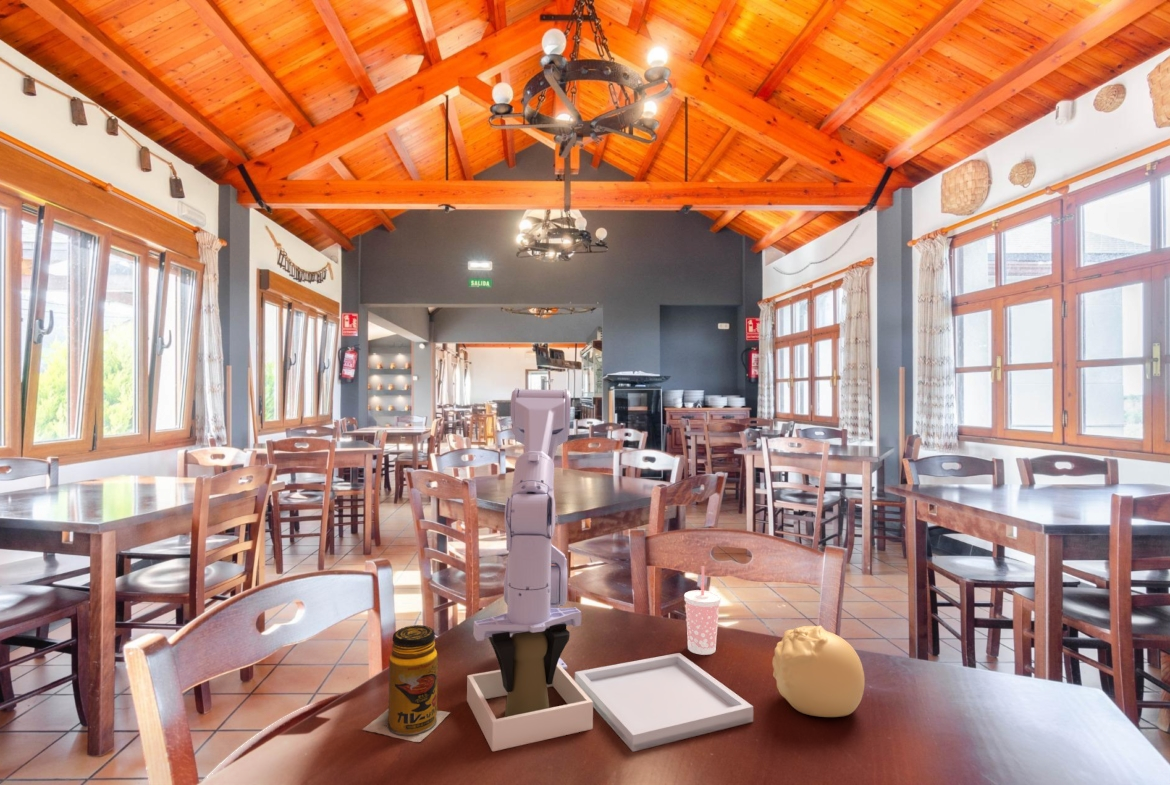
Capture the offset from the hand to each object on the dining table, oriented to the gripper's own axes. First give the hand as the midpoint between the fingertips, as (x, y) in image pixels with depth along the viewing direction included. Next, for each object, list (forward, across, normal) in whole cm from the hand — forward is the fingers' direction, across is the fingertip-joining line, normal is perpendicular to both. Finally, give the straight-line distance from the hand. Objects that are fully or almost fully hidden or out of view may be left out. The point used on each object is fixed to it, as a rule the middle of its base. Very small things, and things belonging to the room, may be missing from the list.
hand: (527, 684), depth 83 cm
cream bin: (+4, 0, 0) cm, 4 cm away
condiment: (+4, -15, +4) cm, 16 cm away
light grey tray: (+4, +18, -4) cm, 19 cm away
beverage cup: (+4, +34, +9) cm, 35 cm away
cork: (+4, 0, 0) cm, 4 cm away
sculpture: (+4, +38, -13) cm, 40 cm away
